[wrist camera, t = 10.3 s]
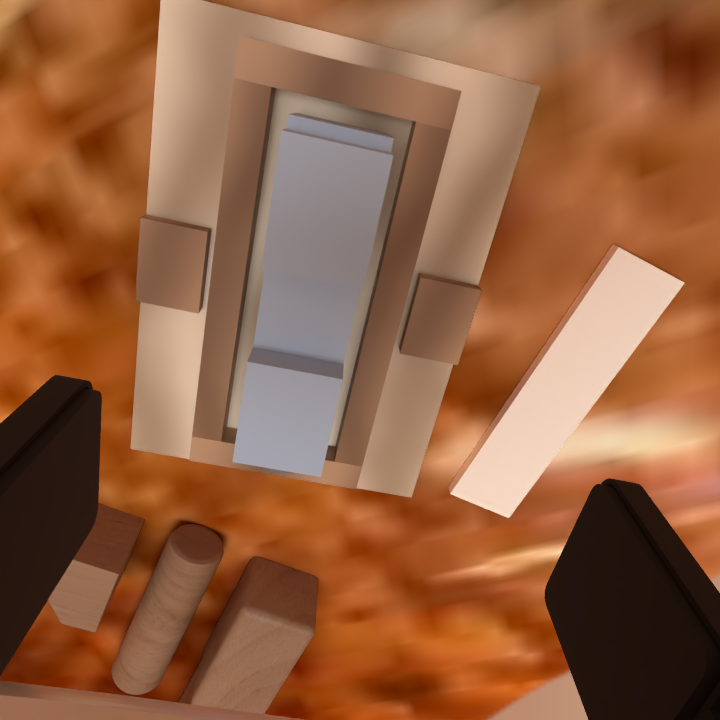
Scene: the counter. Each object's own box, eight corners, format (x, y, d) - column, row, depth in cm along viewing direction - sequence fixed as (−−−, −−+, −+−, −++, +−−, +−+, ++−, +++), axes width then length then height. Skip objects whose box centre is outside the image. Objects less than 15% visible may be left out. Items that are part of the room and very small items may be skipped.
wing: (672, 276, 29) (684, 283, 28) (503, 505, 35) (508, 518, 34) (608, 241, 28) (618, 246, 27) (447, 481, 34) (449, 493, 33)
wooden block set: (323, 638, 31) (211, 813, 38) (326, 562, 36) (228, 728, 43) (8, 537, 28) (-55, 748, 34) (61, 469, 33) (-2, 664, 40)
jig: (536, 86, 25) (552, 85, 23) (410, 491, 34) (413, 514, 32) (166, -8, 23) (149, -18, 21) (134, 442, 32) (120, 464, 30)
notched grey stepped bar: (297, 112, 25) (283, 114, 20) (387, 133, 25) (397, 140, 20) (247, 429, 31) (227, 492, 26) (320, 442, 31) (314, 507, 26)
